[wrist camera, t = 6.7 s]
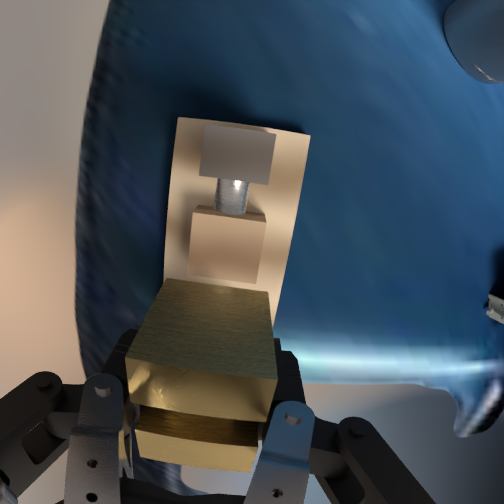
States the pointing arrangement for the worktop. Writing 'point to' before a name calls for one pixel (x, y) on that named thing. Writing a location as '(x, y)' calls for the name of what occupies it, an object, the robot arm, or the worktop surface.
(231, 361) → the slotted brass block
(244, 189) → the shafts
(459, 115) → the worktop surface
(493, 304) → the metal bracket
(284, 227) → the coupling base
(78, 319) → the worktop surface
